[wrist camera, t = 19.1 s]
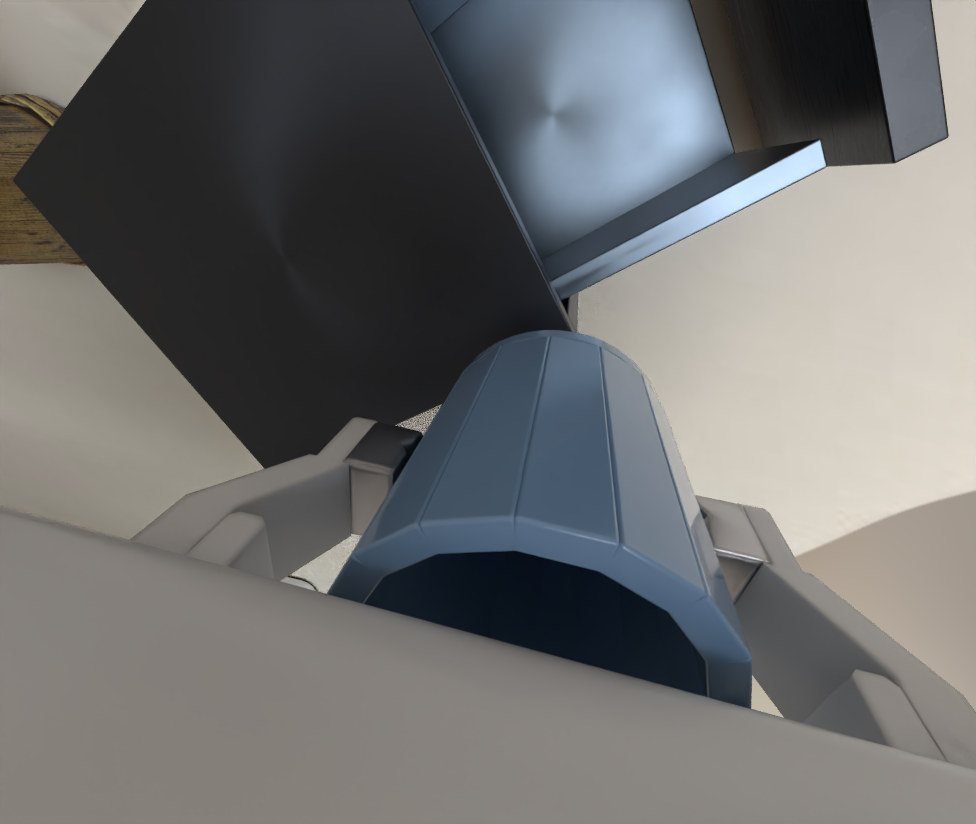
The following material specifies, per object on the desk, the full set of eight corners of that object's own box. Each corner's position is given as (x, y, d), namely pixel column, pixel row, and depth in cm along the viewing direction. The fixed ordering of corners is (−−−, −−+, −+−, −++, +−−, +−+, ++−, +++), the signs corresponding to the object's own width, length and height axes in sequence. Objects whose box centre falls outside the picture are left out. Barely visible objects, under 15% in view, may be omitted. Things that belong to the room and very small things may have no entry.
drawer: (902, -441, 12) (1450, -1497, 4) (960, 69, 16) (1283, -24, 9) (371, 47, 20) (240, -35, 12) (509, 306, 24) (477, 364, 17)
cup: (624, 531, 12) (659, 820, 7) (440, 487, 13) (333, 722, 7) (698, 355, 10) (858, 600, 4) (459, 308, 10) (310, 469, 5)
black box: (438, -23, 19) (304, -215, 10) (578, 279, 24) (577, 342, 14) (221, 179, 25) (10, 179, 16) (368, 387, 30) (274, 480, 20)
